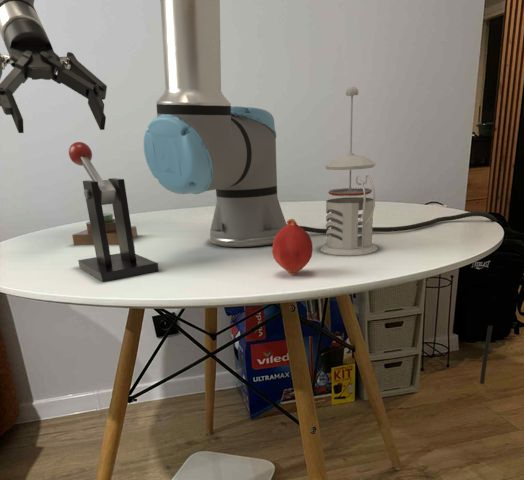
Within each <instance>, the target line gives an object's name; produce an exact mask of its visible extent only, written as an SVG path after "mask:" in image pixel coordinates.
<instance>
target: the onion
mask: <svg viewBox="0 0 524 480" xmlns="http://www.w3.org/2000/svg"><path fill="white" fill-rule="evenodd" d="M297 223H298V222H297V221H296V219H294V218H289V219H288V220H287V221H286V224H287V225H286V226H285V227H284V228H282V229H281V230H280V231H279V232H278V233H277V235H276V237H275V239H274V241H273V244H272V249H271V252H272V253H271V254H272V256H273V259H274V261H275V263H277V264H278V266H280V268H282V269H284V270H285V271H286V272H287V273H288V274H289V275H293V276H294V275H297V274H298V273H299V272H300V271H301V270H303V269H304V268H305V267H306V266H307V265H308V264H309V262H310V260H311V259H312V256H313V250H314V248H313V247H314V246H313V241H312V238H311V237H310V235H309V233H308V232H307V231H305V230H304V229H303V228H301V227H300V226H301V225H298V224H297Z"/></svg>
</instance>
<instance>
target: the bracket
mask: <svg viewBox="0 0 524 480" xmlns="http://www.w3.org/2000/svg"><path fill="white" fill-rule="evenodd" d="M107 180H109V181H110V182H111V184H112V185H113V187H114V188H115V190H116V198H115V204H111V205H112V212H113V218H114V219H115V223H116V230H117V236H118V242H119V245H118V248H119V253H114V254H111V250H110V245H108V239H107V233H106V227H105V221H104V215H103V214H104V210H103V205H102V204H101V198H100V192H99V186H98V182H97V181H92V180H88V179H87V180H82V185H83V195H84V198H85V202H86V207H87V213H88V219H89V221H90V225H91V230H92V236H93V241H94V245H93V246H94V252H95V256H94V257H90V258H83V259H78V261H77V262H78V267H79V269H80V270H82V271H84V272H86V273H87V274H89V275H90V276H92V277H94V278H95V279H97V280H99V281H100V282H102V283H104V282H109V281H114V280H119V279H124V278H130V277H135V276H140V275H146V274H150V273H155V272H159V271H160V270H159V264H158V262H156V261H153V260H151V259H149V258H146V257H144V256H141V255H139V254H137V253H136V250H135V242H134V238H133V235H132V229H131V226H132V224H131V223H132V222H131V216H130V209H129V203H128V195H127V189H126V183H125V179H124V178H117V177H111V178H108V179H107Z"/></svg>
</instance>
